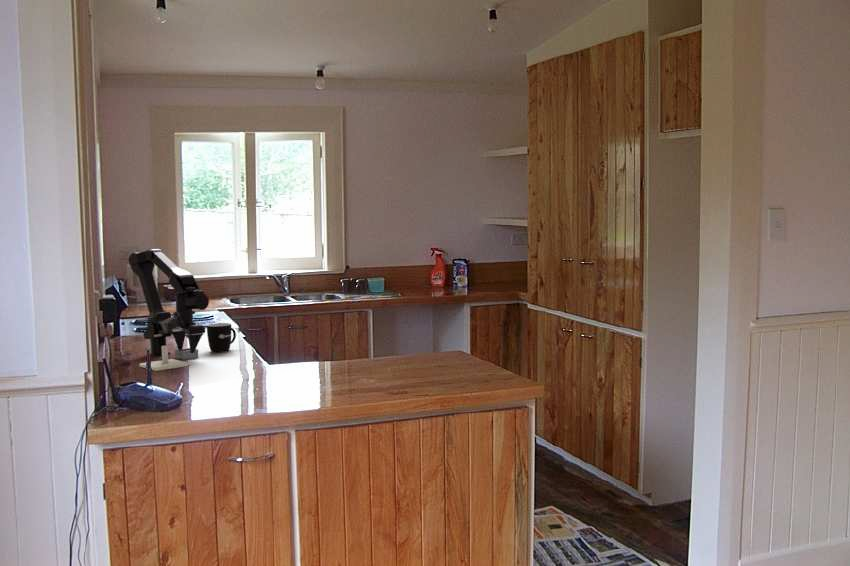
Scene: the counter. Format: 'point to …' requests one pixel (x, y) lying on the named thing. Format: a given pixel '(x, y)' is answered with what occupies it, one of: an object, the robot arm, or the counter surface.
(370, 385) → the counter surface
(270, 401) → the counter surface
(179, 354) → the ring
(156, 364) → the peg board
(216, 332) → the mug
